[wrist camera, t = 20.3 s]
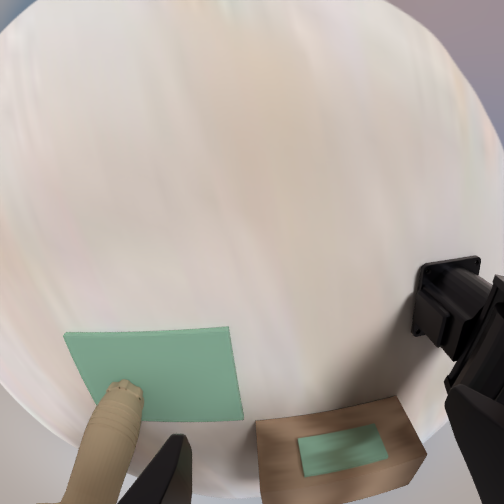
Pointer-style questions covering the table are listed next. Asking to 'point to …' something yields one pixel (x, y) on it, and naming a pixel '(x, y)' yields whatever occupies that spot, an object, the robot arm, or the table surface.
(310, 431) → the cabinet
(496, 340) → the robot arm
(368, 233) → the table surface
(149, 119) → the table surface
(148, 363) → the mat
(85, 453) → the handle
